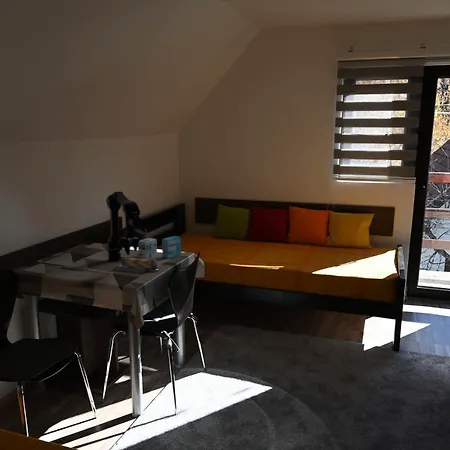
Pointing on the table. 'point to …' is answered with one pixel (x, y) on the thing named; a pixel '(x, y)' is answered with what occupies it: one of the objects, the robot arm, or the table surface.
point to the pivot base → (153, 270)
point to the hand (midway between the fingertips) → (132, 253)
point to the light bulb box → (147, 248)
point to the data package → (171, 247)
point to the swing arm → (139, 263)
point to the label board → (130, 269)
